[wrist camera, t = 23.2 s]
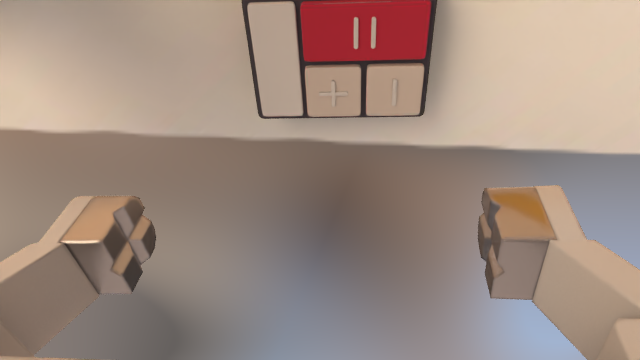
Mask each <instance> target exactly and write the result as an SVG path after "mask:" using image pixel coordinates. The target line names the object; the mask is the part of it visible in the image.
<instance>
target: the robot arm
mask: <svg viewBox="0 0 640 360" xmlns="http://www.w3.org/2000/svg"><path fill="white" fill-rule="evenodd" d="M482 206H483V210H484V213H483V214H482V215H481V216H480V217H479V224H478V242H479V249H480V254H481V258H482V259H484V260H485V261H486V262H487V263H486V269H485V276H486V281H487V285H488V289H489V293H490V298H499V299H524V300H532V302H533V303H534V304H535V305H536V306H537V307H538V308H539V309H540V310H541V311H542V312H543V313H544V315H545V316H546V317H547V318H548V319H549V320H550V321H551V322H552V323H553V324H554V325H555V326H556V327H557V328H558V329H559V330H560V331H561V332H562V334H563V335H564V336H565V337H566V338H567V339H568V340H569V341H570V342H571V343H572V344H573V345H574V346H575V347H576V348H577V349H578V350H579V351H580V352H581V353H582V355H583V356H584V357H585V358H586V359H587V360H640V270H639V269H638V268H636V267H635V266H633V265H632V264H630V263H629V262H627V261H626V260H624V259H623V258H621V257H620V256H618V255H617V254H615V253H613V252H612V251H611V250H609V249H608V248H606V247H605V246H603V245H602V244H600V243H598V242H597V241H596V240H587V239H586V236H585V234H584V232H583V230H582V228H581V226H580V224H579V222H578V220H577V218H576V216H575V214H574V212H573V210H572V208H571V206H570V204H569V202H568V200H567V198H566V196H565V194H564V192H563V190H562V188H561V187H560V186H558V185H555V186H533V187H510V188H485V189H484V191H483V195H482ZM144 209H145V208H144V206H143V204H142V202H141V200H140V198H138V197H135V196H79V197H76V198H74V199H72V200H71V202H70V203H69V204H68V206H67V207H66V208H65V209H64V211H63V212H62V213H61V215H60V216H59V217H58V218H57V220H56V221H55V222H54V223H53V225H52V226H51V227H50V228H49V230H48V231H47V232H46V234H45V235H44V236H43V237H42V239H41V240H40V241H39V242H38V243H32V244H30V245H28V246H27V247H25V248H23V249H22V250H20V251H18V252H17V253H15V254H13V255H11V256H10V257H8V258H7V259H5V260H3V261H2V262H0V360H99V359H71V358H43V357H42V358H41V357H34V354H36V353H37V352H38V351H39V350H40V349H41V348H42V347H43V346H44V345H45V344H47V343H48V342H49V341H50V340H51V339H52V338H53V337H54V336H55V335H57V334H58V333H59V332H60V331H61V330H62V329H63V328H64V327H65V326H66V325H68V324H69V323H70V322H71V321H72V320H73V319H74V318H76V317H77V316H78V315H79V314H80V313H81V312H82V311H83V310H84V309H85V308H87V307H88V306H89V305H90V304H91V303H92V302H93V301H94V300H96V299H97V298H98V297H99V294H132V292H133V290H134V288H135V286H136V284H137V282H138V280H139V278H140V276H141V275H142V273H143V271H142V268H141V264H142V263H144V262H145V261H146V260H148V259H149V258H150V257H151V255H152V253H153V250H154V248H155V240H156V235H155V229H154V226H153V224H152V222H151V221H150V220H149V219H147V218H146V217H145V216H143V215H142V213H143V211H144Z"/></svg>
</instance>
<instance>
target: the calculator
mask: <svg viewBox="0 0 640 360" xmlns="http://www.w3.org/2000/svg"><path fill="white" fill-rule="evenodd" d="M436 5H437V0H242V8H243V15H244V21H245V28H246V35H247V41H248V48H249V55H250V61H251V68H252V75H253V81H254V88H255V95H256V101H257V108H258V114H259V116H260V117H261V118H264V119H270V118H342V117H415V116H421V115H423V113H424V109H425V101H426V92H427V83H428V74H429V66H430V57H431V48H432V40H433V31H434V22H435V13H436Z"/></svg>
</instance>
